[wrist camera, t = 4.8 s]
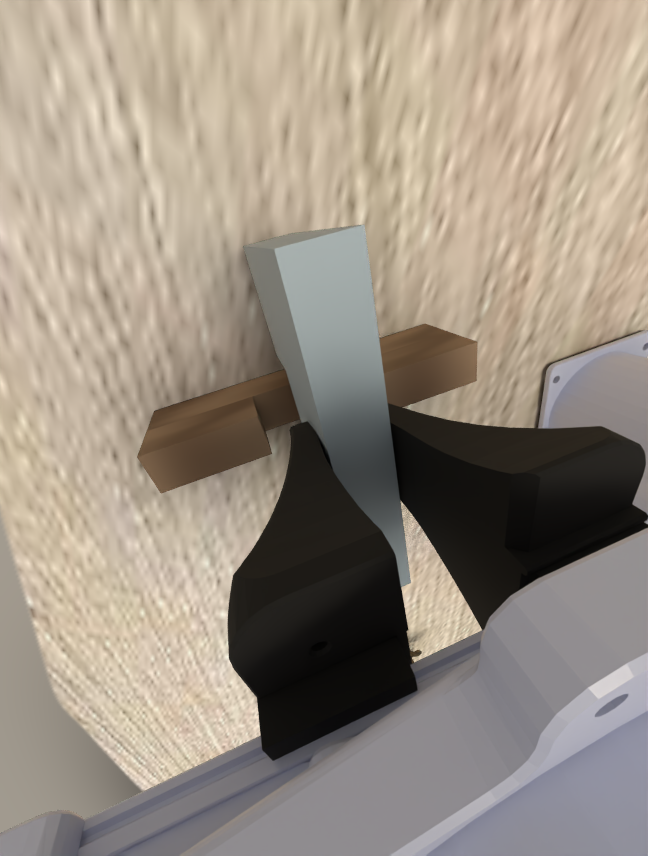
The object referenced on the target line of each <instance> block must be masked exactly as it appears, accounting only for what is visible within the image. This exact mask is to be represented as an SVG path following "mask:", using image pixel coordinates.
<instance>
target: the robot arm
mask: <svg viewBox="0 0 648 856" xmlns="http://www.w3.org/2000/svg"><path fill="white" fill-rule="evenodd" d="M647 357H648V330H644V331H642V332H639V333H636V334H633V335H631V336H628V337H625V338H622V339H620V340H617V341H614V342H611V343H608V344H606V345H603V346H600V347H597V348H595V349H592V350H589V351H586V352H584V353H581V354H578V355H575V356H572V357H570V358H567V359H564V360H561V361H559V362H556V363H553V364H552V365H550V366H549V367H548V369H547V371H546V377H545V384H544V391H543V398H542V405H541V412H540V419H539V426H538V428H508V427H496V426H484V425H476V424H469V423H463V422H457V421H451V420H446V419H442V418H438V417H433V416H429V415H425V414H422V413H418V412H415V411H411V410H408V409H405V408H402V407H399V406H396V405H393V404H389V403H388V411H389V419H390V426H391V434H392V442H393V449H394V457H395V465H396V472H397V480H398V488H399V496H400V500H401V501H402V502H403V504H404V505H405V506H406V507H407V509H408V510H409V511H410V512H411V514H412V515H413V516H414V518H415V519H416V520H417V522H418V523H419V525H420V526H421V528H422V529H423V531H424V532H425V534H426V535H427V537H428V539H429V540H430V542H431V543H432V545H433V546H434V548H435V550H436V551H437V553H438V555H439V556H440V558H441V559H442V561H443V563H444V564H445V566H446V568H447V569H448V571H449V572H450V574H451V576H452V578H453V579H454V581H455V583H456V584H457V586H458V588H459V590H460V591H461V593H462V595H463V596H464V598H465V600H466V602H467V603H468V605H469V607H470V609H471V610H472V612H473V614H474V616H475V618H476V619H477V621H478V623H479V625H480V627H481V628H482V631H480V632H478V633H476V634H474V635H472V636H469V637H467V638H465V639H463V640H461V641H459V642H457V643H455V644H453V645H450V646H448V647H446V648H444V649H442V650H440V651H438V652H436V653H434V654H432V655H429V656H427V657H425V658H423V659H421V660H419V661H417V662H415V663H413V664H412V660H411V655H410V649H409V643H408V638H407V632H406V631H407V630H408V625H407V619H406V614H405V608H404V602H403V596H402V590H401V584H400V578H399V572H398V566H397V560H396V555H395V553H394V550H393V549H392V547H391V545H390V544H389V542H388V540H387V539H386V537H385V535H384V534H383V532H382V530H381V529H380V528H379V527H378V526H377V525H375V524H374V523H373V521H372V520H371V519H370V518H369V517H368V516H367V515H366V514H365V513H364V511H363V510H362V509H361V508H360V507H359V506H358V505H357V503H356V502H355V501H354V499H353V498H352V497H351V496H350V494H349V493H348V492H347V490H346V489H345V488H344V486H343V485H342V483H341V482H340V480H339V479H338V478H337V476H336V475H335V473H334V471H333V470H332V468H331V467H330V465H329V464H328V462H327V460H326V458H325V455H324V453H323V450H322V447H321V445H320V442H319V439H318V437H317V434H316V432H315V430H314V429H313V427H312V426H311V425H310V423H309V422H308V421H306V422H303V423H300V424H297V425H295V426H292V427H291V428H290V430H289V431H290V435H291V450H290V459H289V464H288V469H287V474H286V478H285V482H284V485H283V488H282V491H281V494H280V497H279V500H278V502H277V504H276V507H275V509H274V512H273V514H272V516H271V518H270V520H269V522H268V524H267V526H266V527H265V529H264V531H263V533H262V534H261V536H260V538H259V540H258V541H257V543H256V545H255V546H254V548H253V549H252V551H251V552H250V553H249V555H248V556H247V558H246V559H245V560H244V562H243V563H242V564H241V566H240V567H239V568H238V570H237V571H236V572H235V574H234V575H233V580H232V586H231V592H230V600H229V610H228V645H229V660H230V662H231V664H232V666H233V668H234V670H235V671H236V672H237V674H238V675H239V676H240V677H241V678H242V680H243V681H244V682H245V683H246V685H247V686H248V687H249V688H250V690H251V691H252V692H253V693H254V695H255V696H256V697H257V702H258V712H259V723H260V733H261V736H259V737H257V738H255V739H253V740H250V741H248V742H246V743H244V744H242V745H240V746H238V747H236V748H234V749H232V750H229V751H227V752H225V753H223V754H221V755H219V756H217V757H215V758H213V759H210V760H208V761H206V762H204V763H202V764H200V765H198V766H196V767H194V768H192V769H189V770H187V771H185V772H183V773H181V774H179V775H177V776H175V777H173V778H170V779H168V780H166V781H164V782H162V783H160V784H158V785H156V786H154V787H152V788H149V789H147V790H145V791H143V792H141V793H139V794H137V795H135V796H133V797H131V798H128V799H126V800H124V801H122V802H120V803H118V804H116V805H114V806H112V807H110V808H107V809H105V810H103V811H101V812H99V813H97V814H95V815H93V816H90V817H88V818H86V819H83V818H82V817H81V816H79V815H78V814H76V813H74V812H72V811H66V810H57V811H50V812H47V813H44V814H41V815H38V816H36V817H34V818H32V819H29V820H27V821H25V822H23V823H21V824H19V825H16V826H14V827H12V828H10V829H8V830H6V831H4V832H1V833H0V856H648V358H647Z"/></svg>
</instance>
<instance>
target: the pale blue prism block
mask: <svg viewBox="0 0 648 856" xmlns="http://www.w3.org/2000/svg"><path fill="white" fill-rule="evenodd" d="M243 248H244V251H245V255H246V258H247V261H248V264H249V267H250V271H251V274H252V277H253V280H254V284H255V287H256V290H257V293H258V296H259V300H260V303H261V306H262V309H263V313H264V316H265V319H266V322H267V325H268V329H269V332H270V335H271V338H272V342H273V345H274V348H275V351H276V354H277V357H278V358H279V360H280V362H281V363H282V365H283V367H284V368H285V370H286V373H287V376H288V380H289V383H290V386H291V390H292V393H293V396H294V400H295V403H296V406H297V409H298V413H299V416H300V419H301V423H303V422H306V421H308V422H309V423H310V425H311V426H312V427H313V429H314V430H315V432H316V434H317V437H318V439H319V442H320V445H321V447H322V450H323V453H324V455H325V458H326V460H327V462H328V464H329V465H330V467H331V468H332V470H333V471H334V473H335V475H336V476H337V478H338V479H339V480H340V482H341V483H342V485H343V486H344V488H345V489H346V490H347V492H348V493H349V494H350V496H351V497H352V498H353V499H354V501H355V502H356V503H357V505H358V506H359V507H360V508H361V509H362V510H363V511H364V513H365V514H366V515H367V516H368V517H369V518H370V519H371V520H372V521H373V523H374V524H375V525H377V526H378V527H379V528H380V529H381V530H382V532H383V534H384V535H385V537H386V539H387V540H388V542H389V544H390V545H391V547H392V549H393V550H394V553H395V555H396V560H397V566H398V572H399V578H400V584H401V587H402V586H405V585H407V584H409V583H411V580H410V573H409V565H408V557H407V549H406V542H405V534H404V526H403V519H402V511H401V503H400V496H399V488H398V480H397V472H396V465H395V457H394V449H393V442H392V434H391V426H390V419H389V411H388V403H387V395H386V388H385V380H384V372H383V365H382V357H381V349H380V342H379V334H378V326H377V318H376V311H375V303H374V295H373V288H372V280H371V272H370V265H369V257H368V249H367V241H366V234H365V226H364V225H357V226H348V227H340V228H332V229H324V230H316V231H307V232H299V233H291V234H287V235H283V236H279V237H276V238H272V239H268V240H264V241H261V242H257V243H253V244H249V245H246V246H243Z"/></svg>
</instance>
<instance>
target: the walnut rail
mask: <svg viewBox="0 0 648 856" xmlns="http://www.w3.org/2000/svg"><path fill="white" fill-rule="evenodd" d="M379 342H380V349H381V357H382V365H383V372H384V380H385V388H386V395H387V403H389V404H393V405H396V406H399V407H405V406H407V405H410V404H413V403H416V402H419V401H421V400H424V399H427V398H430V397H433V396H436V395H438V394H441V393H444V392H447V391H450V390H452V389H455V388H458V387H461V386H464V385H466V384H469V383H472V382H475V381H476V376H477V342H476V341H473V340H470V339H467V338H465V337H462V336H459V335H456V334H453V333H450V332H447V331H444V330H442V329H439V328H436V327H433V326H430V325H427V324H423V325H420V326H417V327H414V328H411V329H408V330H405V331H401V332H398V333H395V334H392V335H389V336H386V337H383V338H380V339H379ZM299 419H300V416H299V413H298V409H297V406H296V403H295V400H294V396H293V393H292V390H291V386H290V383H289V380H288V376H287V373H286V370H285V369H284V370H280V371H277V372H274V373H271V374H268V375H265V376H262V377H259V378H256V379H253V380H249V381H246V382H243V383H240V384H237V385H234V386H231V387H228V388H225V389H222V390H218V391H215V392H212V393H209V394H206V395H203V396H200V397H197V398H194V399H190V400H187V401H184V402H181V403H178V404H175V405H172V406H169V407H166V408H163V409H159V410H156V411H154V413H153V416H152V419H151V421H150V424H149V427H148V429H147V432H146V435H145V437H144V440H143V443H142V445H141V448H140V451H139V454H138V456H137V458H138V459H139V461H140V462H141V464H142V465H143V467H144V468H145V470H146V471H147V473H148V474H149V476H150V477H151V479H152V480H153V482H154V483H155V485H156V487H157V488H158V490H159V491H160V493H163V492H166V491H169V490H172V489H175V488H177V487H180V486H183V485H186V484H189V483H191V482H194V481H197V480H200V479H203V478H205V477H208V476H211V475H214V474H217V473H219V472H222V471H225V470H228V469H231V468H233V467H236V466H239V465H242V464H245V463H247V462H250V461H253V460H256V459H259V458H262V457H264V456H267V455H270V454H272V452H271V449H270V445H269V442H268V438H267V435H266V431H267V430H270V429H273V428H275V427H278V426H281V425H284V424H287V423H290V422H293V421H296V420H299Z"/></svg>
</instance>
